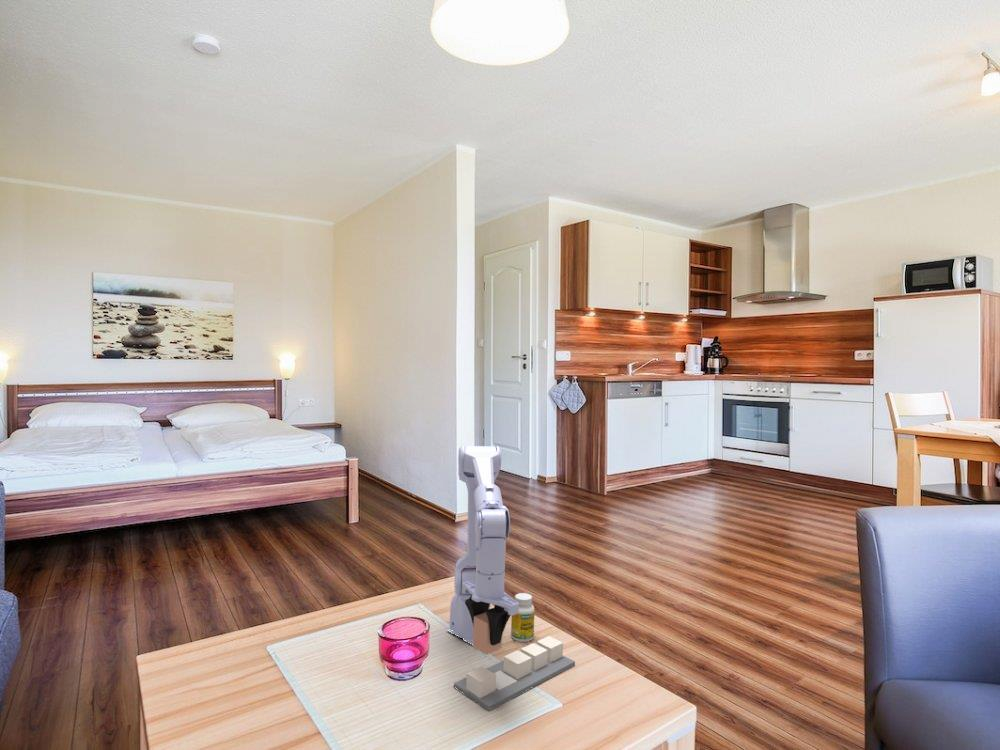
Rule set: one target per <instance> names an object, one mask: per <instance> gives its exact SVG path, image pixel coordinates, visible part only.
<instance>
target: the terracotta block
mask: <svg viewBox="0 0 1000 750" xmlns="http://www.w3.org/2000/svg"><path fill="white" fill-rule="evenodd" d="M502 638H503V637H502ZM502 638H501V642H500V643H498V644H496V645H494V646H493V645H491V643H490V627H489V621H488V617H487V614H486V612H485V613H482V614H479V615H476V616H474V629H473V645H472V648H474V649H475V650H478V651H480V652H481V653H483V654H485V655H489V654H491V653H493V652H496V651H499V650H501V649H502V647H503V646H502V645H503V643H502V640H503V639H502Z"/></svg>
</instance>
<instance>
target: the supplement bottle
mask: <svg viewBox="0 0 1000 750" xmlns="http://www.w3.org/2000/svg"><path fill="white" fill-rule="evenodd" d="M514 601H516V602H518V603H519V613H517V614H515V615H512V616H511V622H510V623H511V626H510V627H511V628H510V631H511V633H510V636H511V638H512V639H513V640H514V641H515V642H519V643H520V642H521V643H524V642H525V643H526V642H530V641H532V640H533V639H534V636H535V635H534V632H535V612H536V611H535V609H536V608H535V606H534V605H533V604H532V603H533V596H532V595H531V594H529V593H525V592H519V593H516V594H515V595H514Z"/></svg>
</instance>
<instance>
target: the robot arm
mask: <svg viewBox="0 0 1000 750" xmlns="http://www.w3.org/2000/svg"><path fill="white" fill-rule="evenodd" d="M457 464H458V469H457V470H458V471H457V473H458V477H459V478H458V479H459V480H460V481H461V482H463V483H465V484H466V485H465V486H466V489H467V537H466V539H467V543H466V544H467V549H466V551H467V552H466V553H465V554H464V555H463V556H461V557H460V558H459V559H458V560H457V561H456V563H455V571H454V579H453V580H454V581H453V582H454V583H453V584H454V595H453V596H452V599H451V600H450V611H449V627H448V628H446V631H447V630H449V629H450V630H449V631H451V630H453V631H451V632H452V633H454V634H456V635H458V636H459V637H461V638H464V640H466V641H468V642H469V643H471V644H473V629H474V616H476V615H479V614H482V613H485V612H486V614H487V617H488V621H489V627H490V643H491V645H493V646H494V645H496V644H498V643H500V642H501V638H503V634H504V630H505V628H506V625H507V624H508V621H509V619H510V617H512V615H515V614H517V613H519V603H518V602H516V601H515V599H513V598H512V597H511V596H510V595H509V593H506V592H505V578H506V577H505V576H506V575H505V573H506V571H505V570H506V553H507V552H506V551H507V550H506V548H507V539H509V537H510V533H511V532H510V531H511V517H510V512H509V509H508V508H507V506H506V505H504V503H503V502H504V501H503V497H502V493H501V492H502V491H501V489H500V487H499V486H498V485H496V484H495V481H496V480H497V477H498V475H499V473H500V471H501V467H502V466H501V465H502V451H501V448H500V447H499V446H498V445H495V446H492V445H491V446H488V445H487V446H485V445H464V444H461V446H460V447H459V448H458V463H457ZM492 605H493V607H492V608H491V606H492ZM452 633H451V634H452ZM459 637H458V638H459ZM464 640H463V641H464ZM466 641H465V642H466ZM469 643H468V644H469ZM471 644H470V645H471Z"/></svg>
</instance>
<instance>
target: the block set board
mask: <svg viewBox="0 0 1000 750" xmlns="http://www.w3.org/2000/svg"><path fill="white" fill-rule="evenodd" d="M575 665H576V661H575V660H573V659H571V658H569V657H567V656H566V655H564V642H562V641H560V640H559V639H556V638H554V637H552V636H550V635H548V636H545V637H544V638H541V639H539V640H537V641H536V642H533V643H530V644H528V645H526V646H524V647H522V648H520V650H515V651H513V652H511V653H509V654H506V655H504V656H503V660H501V661H499V662H497V663H495V664H492V665H491V666H489V667H487V668H486V667H484V666H479V667H478V668H475V669H473V670H471V671H469V672H467V673H466V677H464V678H463V679H461V680H458V681H456V682H454V683H453V688H454V687H456V688H457V689H458V690H457V689H456V688H455V689H456V690H457V691H458V692H460V691H461V692H463V693H464V694H465V695H464V694H463V693H462V694H463V695H464V696H466V695H467V696H468V697H467V696H466V697H467V698H469V697H470V698H471V699H470V698H469V699H470V700H472V699H473V700H474V702H475V701H476V702H477V703H476V702H475V703H476V704H478V703H479V704H480V705H479V704H478V705H479V706H480V707H482V706H483V707H482V708H483V709H484V710H486V711H488V712H490V711H492V710H493V708H494V709H495V707H496V708H498V707H499V706H501V705H503V704H505V703H507V702H509V701H510V700H512V699H514V698H516V697H518V696H519V695H522V694H523V692H524V693H526V692H527V691H529V690H531V689H532V688H531V687H533V688H535V687H537V686H539V685H540V684H543V683H545V682H547V681H548V680H550V679H552V678H553V677H555V676H558V675H559V674H561V673H563V672H565V671H567V670H569V669H570V668H573V667H575ZM534 686H535V687H534ZM530 688H531V689H530ZM528 689H529V690H528ZM526 690H527V691H526ZM525 691H526V692H525ZM461 692H460V693H461ZM473 700H472V701H473Z"/></svg>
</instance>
